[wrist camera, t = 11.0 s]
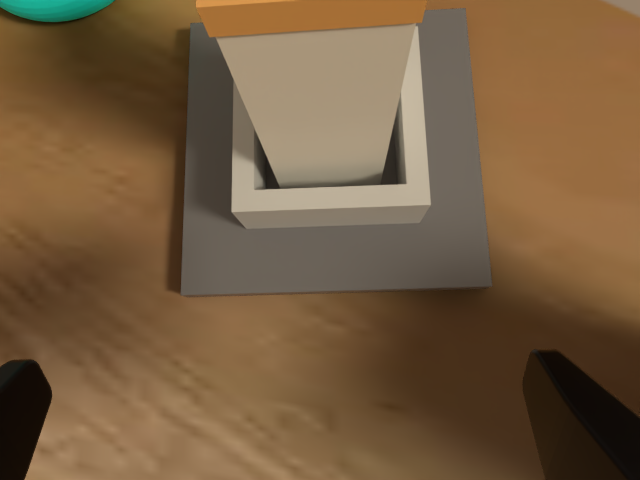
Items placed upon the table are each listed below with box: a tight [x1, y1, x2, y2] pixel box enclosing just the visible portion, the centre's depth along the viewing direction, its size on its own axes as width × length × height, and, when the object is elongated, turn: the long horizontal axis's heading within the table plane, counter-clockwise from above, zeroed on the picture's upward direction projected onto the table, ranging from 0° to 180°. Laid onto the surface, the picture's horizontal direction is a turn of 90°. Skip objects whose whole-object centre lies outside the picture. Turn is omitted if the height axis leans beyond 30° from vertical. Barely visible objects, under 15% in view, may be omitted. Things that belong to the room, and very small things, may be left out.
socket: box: [181, 8, 492, 297], centre depth 22 cm, size 14×14×4 cm
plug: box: [196, 0, 427, 189], centre depth 17 cm, size 5×5×13 cm
